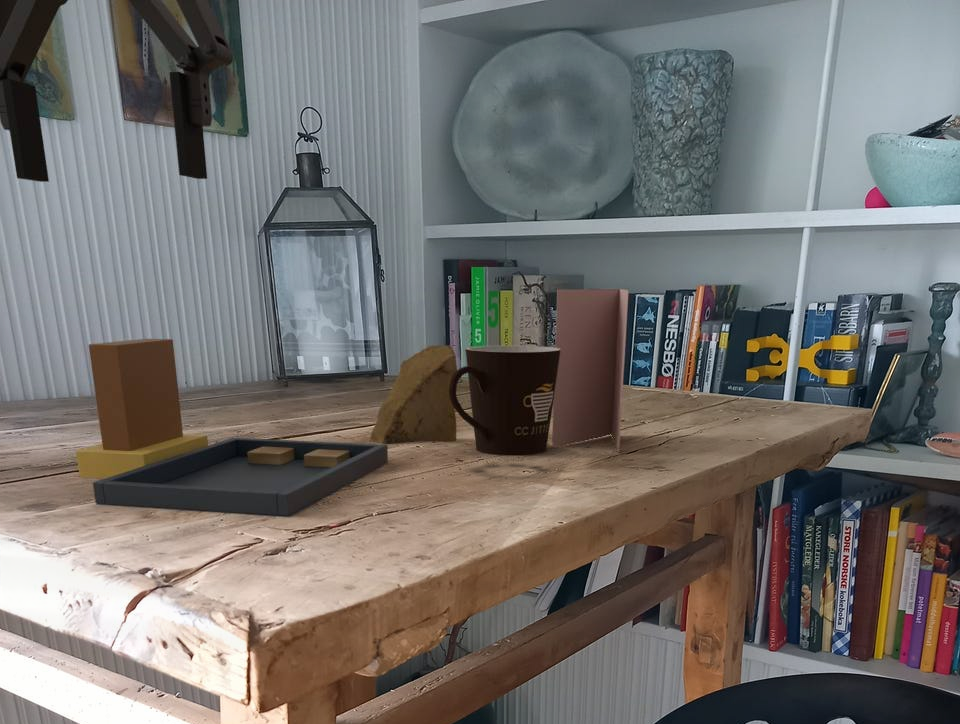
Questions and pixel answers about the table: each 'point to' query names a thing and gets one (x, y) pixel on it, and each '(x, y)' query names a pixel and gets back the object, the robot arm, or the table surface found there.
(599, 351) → the greeting card
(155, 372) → the sponge
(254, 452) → the chip
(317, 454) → the chip
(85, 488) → the table surface
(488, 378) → the coffee mug
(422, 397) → the rock
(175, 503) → the tray
